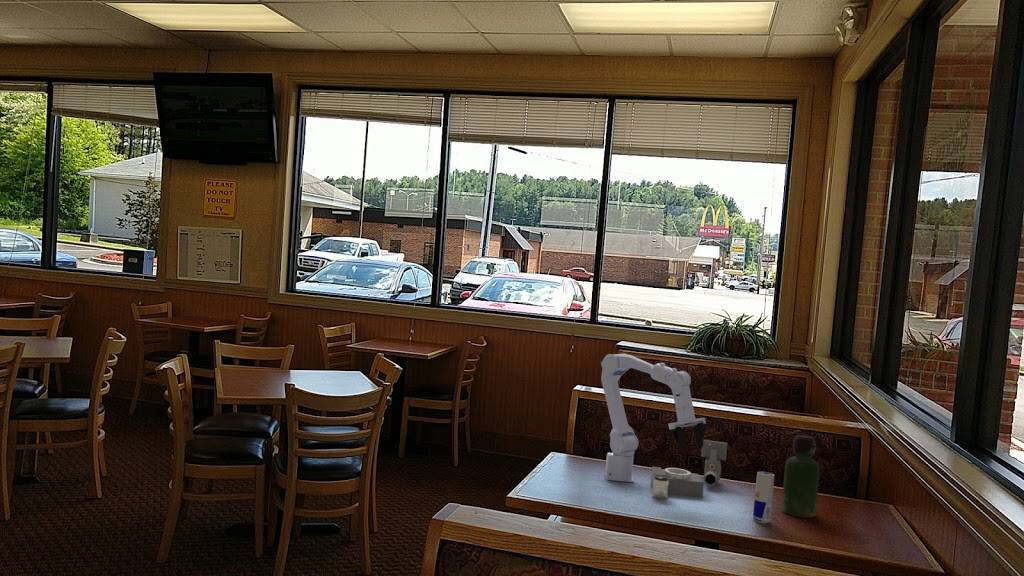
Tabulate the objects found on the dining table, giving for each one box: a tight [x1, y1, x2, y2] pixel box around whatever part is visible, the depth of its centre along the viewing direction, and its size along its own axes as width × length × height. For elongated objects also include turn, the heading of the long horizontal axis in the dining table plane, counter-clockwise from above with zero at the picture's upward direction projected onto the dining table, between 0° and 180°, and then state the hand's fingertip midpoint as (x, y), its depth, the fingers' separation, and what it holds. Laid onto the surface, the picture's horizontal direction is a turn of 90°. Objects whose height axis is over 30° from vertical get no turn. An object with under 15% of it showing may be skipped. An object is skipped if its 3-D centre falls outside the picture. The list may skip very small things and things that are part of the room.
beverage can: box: [752, 471, 775, 524], centre depth 248 cm, size 5×5×15 cm
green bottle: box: [780, 434, 821, 519], centre depth 260 cm, size 10×10×25 cm
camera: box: [700, 439, 728, 487], centre depth 287 cm, size 9×12×15 cm
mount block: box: [650, 466, 705, 498], centre depth 276 cm, size 16×11×6 cm
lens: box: [651, 476, 669, 501], centre depth 266 cm, size 5×5×7 cm
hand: (691, 448), depth 268 cm, fingers open, 7 cm apart
